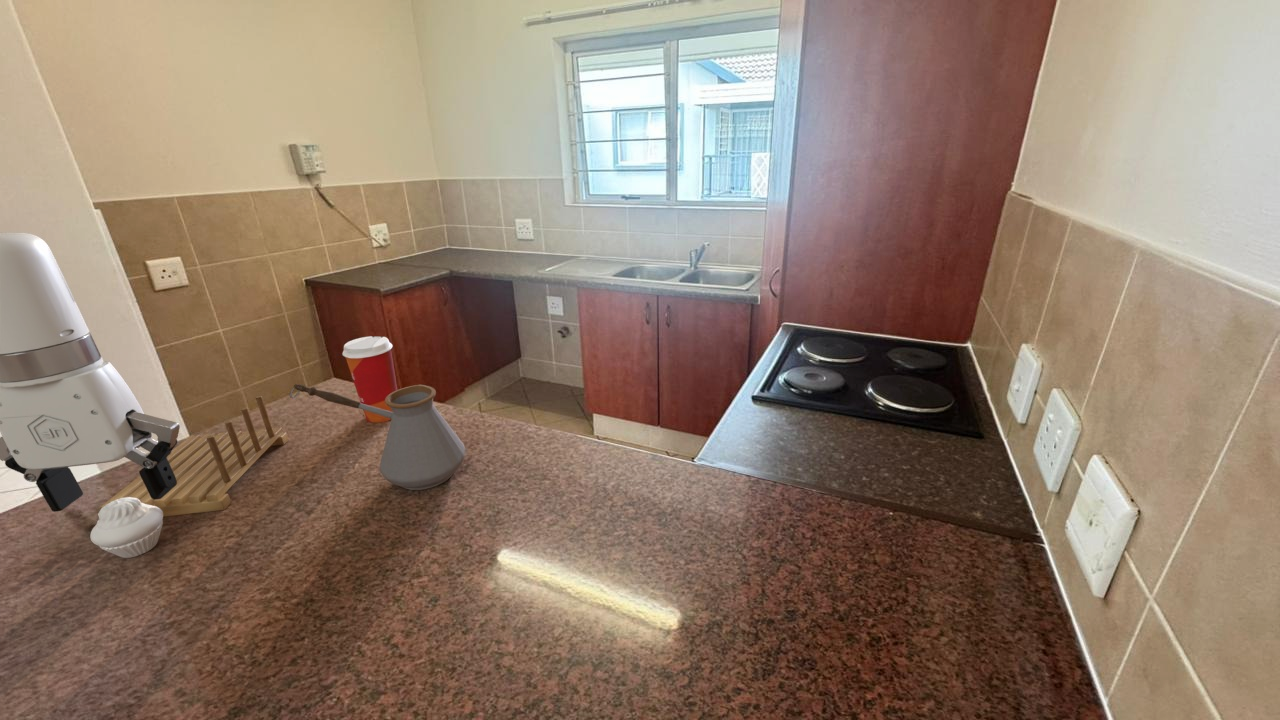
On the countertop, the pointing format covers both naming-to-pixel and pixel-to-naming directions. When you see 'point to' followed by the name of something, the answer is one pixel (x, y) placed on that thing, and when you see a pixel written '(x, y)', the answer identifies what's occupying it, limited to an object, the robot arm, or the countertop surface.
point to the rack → (209, 467)
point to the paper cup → (372, 372)
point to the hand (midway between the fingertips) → (118, 497)
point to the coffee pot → (410, 437)
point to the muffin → (127, 527)
